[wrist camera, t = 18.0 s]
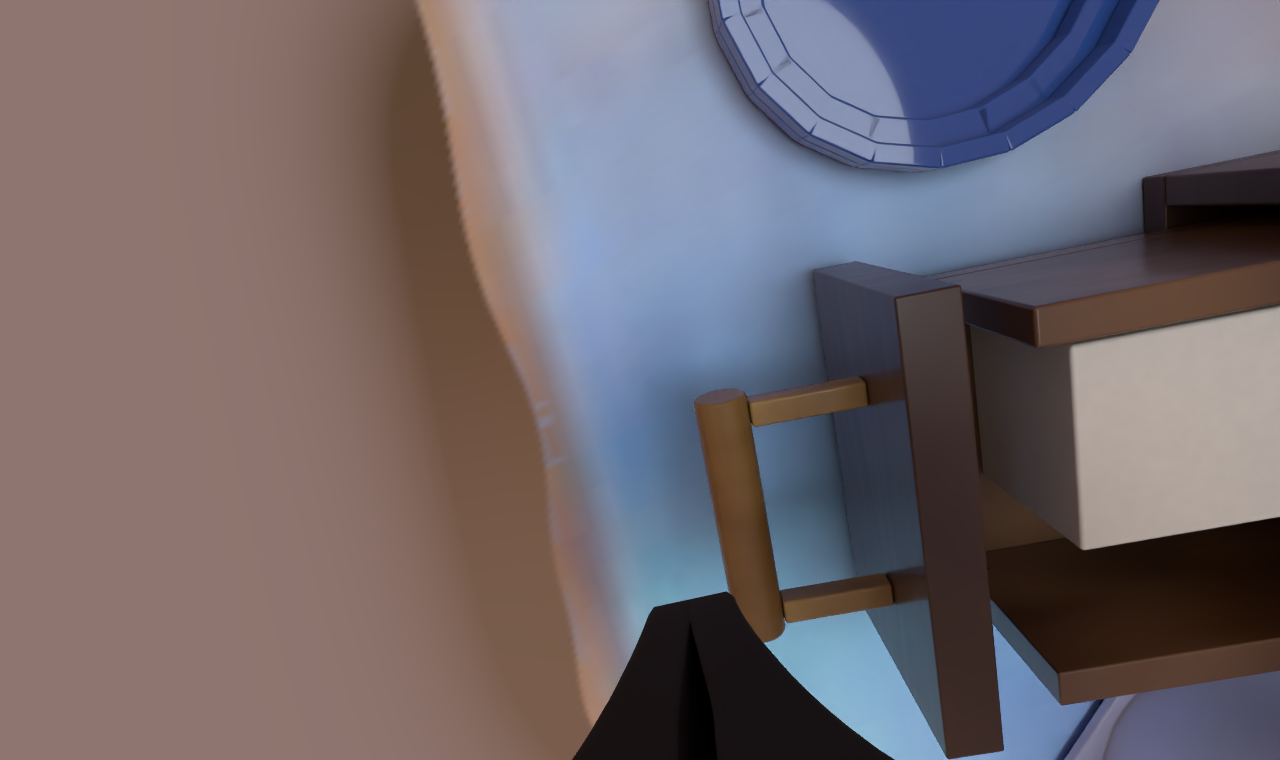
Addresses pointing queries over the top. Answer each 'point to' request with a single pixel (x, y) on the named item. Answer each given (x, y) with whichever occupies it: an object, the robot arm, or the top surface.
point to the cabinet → (1212, 191)
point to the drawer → (983, 511)
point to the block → (1137, 426)
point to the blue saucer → (923, 71)
